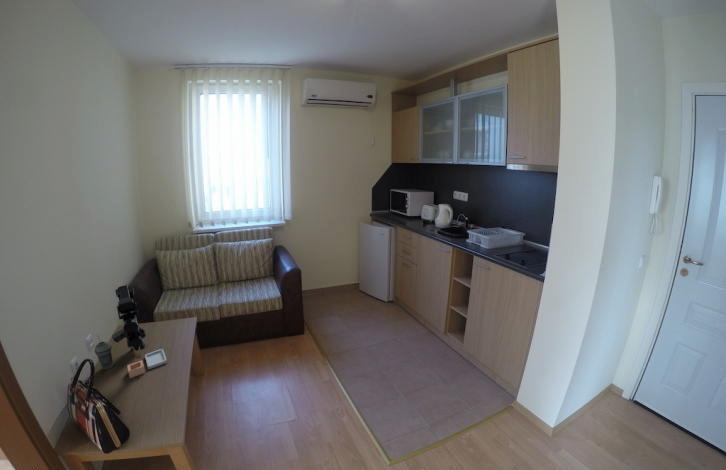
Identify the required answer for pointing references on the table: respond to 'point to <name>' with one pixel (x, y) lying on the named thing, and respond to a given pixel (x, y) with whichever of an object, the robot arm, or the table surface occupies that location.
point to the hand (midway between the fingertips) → (136, 349)
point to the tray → (155, 359)
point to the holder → (136, 369)
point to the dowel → (137, 353)
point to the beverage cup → (104, 354)
